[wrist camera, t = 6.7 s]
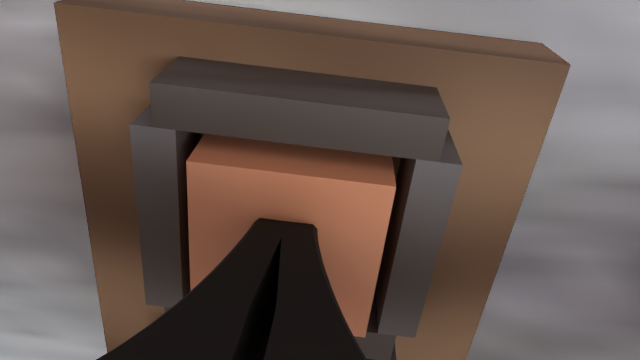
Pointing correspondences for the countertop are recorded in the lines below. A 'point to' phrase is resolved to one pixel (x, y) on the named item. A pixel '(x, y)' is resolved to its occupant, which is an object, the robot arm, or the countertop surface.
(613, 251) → the countertop surface
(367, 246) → the terracotta button
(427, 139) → the button panel
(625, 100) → the countertop surface
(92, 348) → the countertop surface
